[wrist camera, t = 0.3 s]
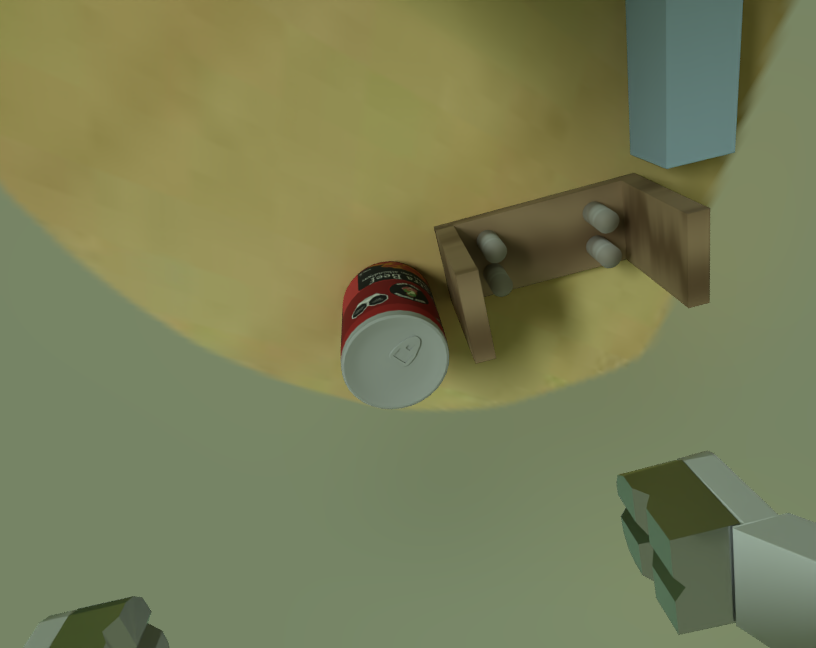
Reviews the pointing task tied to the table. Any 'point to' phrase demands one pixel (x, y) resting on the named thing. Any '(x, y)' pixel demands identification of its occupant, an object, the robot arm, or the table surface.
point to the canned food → (392, 337)
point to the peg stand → (575, 246)
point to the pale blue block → (683, 78)
